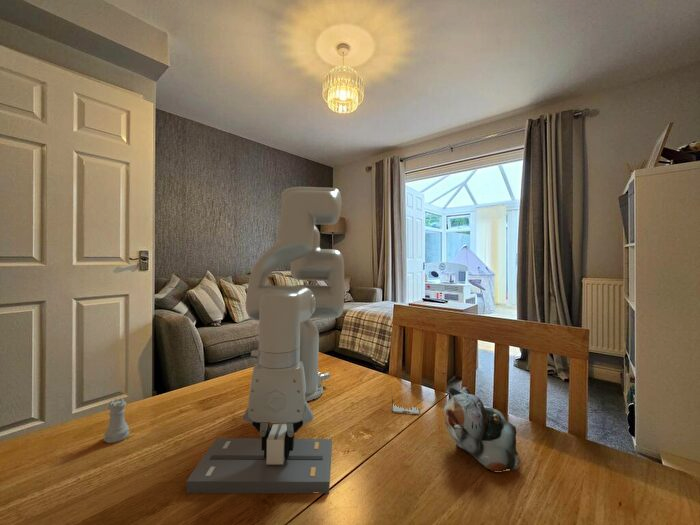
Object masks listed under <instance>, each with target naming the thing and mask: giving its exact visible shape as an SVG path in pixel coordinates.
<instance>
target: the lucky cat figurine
mask: <svg viewBox="0 0 700 525" xmlns="http://www.w3.org/2000/svg"><path fill="white" fill-rule="evenodd" d="M461 388H462V389H461V390H460V391H459V390H457V389H456V388H454V387H450V388H449V389H448V392H449V393H448V400H447V402H446V404H445V406H444V408H443V414H444V415H443V416H444V418H443V419H444V425H445V427H446V430H447V432H448V433H449V435H450V437H451V438H452V439H453V440H454V441H455V442H456V445H457V447H459V448H461V449H463V451H464V450H465V452H467V453H468V454H469V455H471V456H472V457H473V458H475V459H476V460H477V461H478V462H479V463H480V464H481V465H482V466H484V467H485V468H486V469H487V470H489V469H490V470H493V471H503V470H506V469H510V471H512V470H514V471H515V470H518V468H519V465H520V460H521V459H520V455H519V453H518V451H517V438H516V437H517V427H516V425H514V424H512V423H510V422H508V419H506V417H505V415H504V414H503V413H502V412H501V411H499V410H498V409H496V408H493V407H487V406H486V407H485V406H484V404H483V401H482V399H481V398H480V397H478V396H477V395H475V394H471V392H470V389H469V388H468V387H466V386H464V387H461ZM490 470H489V471H490Z"/></svg>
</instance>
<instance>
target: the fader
mask: <svg viewBox="0 0 700 525" xmlns="http://www.w3.org/2000/svg"><path fill="white" fill-rule="evenodd" d="M270 428H271V431H270V433H269V436H268V438H267V460H266V464H283V463H284V460H285V457H284V444H285V435H286V432H287V425H286V423H272V427H270Z"/></svg>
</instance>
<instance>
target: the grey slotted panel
mask: <svg viewBox="0 0 700 525" xmlns="http://www.w3.org/2000/svg"><path fill="white" fill-rule="evenodd" d="M332 447H333V439H332V438H294V448H293V451H290V453H289V457H288V458H285V460H284V463H283V464H266V460H267V458H264V451H262V438H248V437H247V438H245V437H244V438H241V437H239V438H237V437H235V438H234V437H233V438H232V437H231V438H229V437H228V438H227V437H226V438H225V437H216V438H215V439H214V441H213V442H212V444H211V445H210V447H209V448H208V450H207V451H206V452H205V453H204V455H203V457H202V458H201V459H200V461H199V463H198V464H197V465H196V467H195V468H194V469H193V471H192V472H191V474H190V475H189V477H188V478H187V479H186V481H185V482H186V484H185V487H186V488H185V489H186V490H185V493H186V494H314V493H313V492H319V493H318V494H330V487H331V485H330V484H331V483H330V482H331V469H332V468H331V467H332V449H333V448H332Z"/></svg>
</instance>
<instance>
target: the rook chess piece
mask: <svg viewBox="0 0 700 525" xmlns="http://www.w3.org/2000/svg"><path fill="white" fill-rule="evenodd" d="M126 406H127V402H126V401H125V399H124V398H119V399H118V398H116V399H114V400H111V401H110V402H109V405H108V406H107V410H108V411H109V413H108V416H109V422H108V423H109V424H108V426H107V428H106V431H105V432H104V434H103V435H104V438H103V441H104V442H106V443H108V444H115V443H119V442H122V441H123V440H125V439H126V438H128V436H129V435H130V433H131V431H130V428H129V425H128V423H127V422H126V420H125V419H126V418H125V412H126V410H125V407H126Z"/></svg>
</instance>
